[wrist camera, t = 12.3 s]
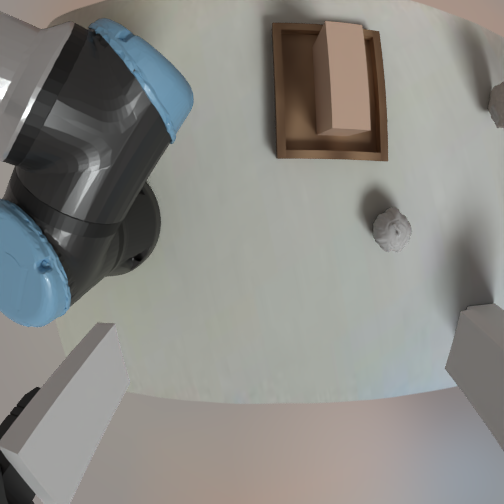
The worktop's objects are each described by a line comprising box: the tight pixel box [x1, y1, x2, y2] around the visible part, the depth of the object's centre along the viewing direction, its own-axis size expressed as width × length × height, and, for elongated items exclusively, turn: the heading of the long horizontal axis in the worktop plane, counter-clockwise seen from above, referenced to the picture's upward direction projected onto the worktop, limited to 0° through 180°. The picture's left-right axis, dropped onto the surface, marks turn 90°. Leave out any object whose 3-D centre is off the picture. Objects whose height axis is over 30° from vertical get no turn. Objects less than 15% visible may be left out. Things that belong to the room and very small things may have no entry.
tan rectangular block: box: [312, 21, 371, 136], centre depth 32 cm, size 4×12×9 cm, turn 2°
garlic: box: [373, 207, 412, 252], centre depth 39 cm, size 6×5×5 cm
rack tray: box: [272, 23, 388, 161], centre depth 35 cm, size 14×18×2 cm
